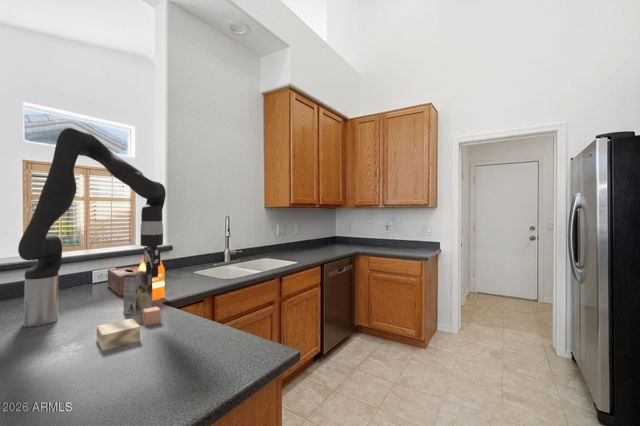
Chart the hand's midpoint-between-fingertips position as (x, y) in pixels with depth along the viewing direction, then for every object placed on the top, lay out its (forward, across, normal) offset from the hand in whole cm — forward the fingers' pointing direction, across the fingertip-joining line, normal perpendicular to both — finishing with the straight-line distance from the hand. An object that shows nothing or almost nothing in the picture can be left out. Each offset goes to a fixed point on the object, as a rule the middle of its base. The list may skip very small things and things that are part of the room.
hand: (151, 275), depth 111 cm
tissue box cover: (+18, -63, +3) cm, 66 cm away
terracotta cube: (+18, 0, 0) cm, 18 cm away
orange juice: (+18, -33, +7) cm, 38 cm away
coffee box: (+18, -18, -1) cm, 26 cm away
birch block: (+18, +11, -12) cm, 24 cm away
